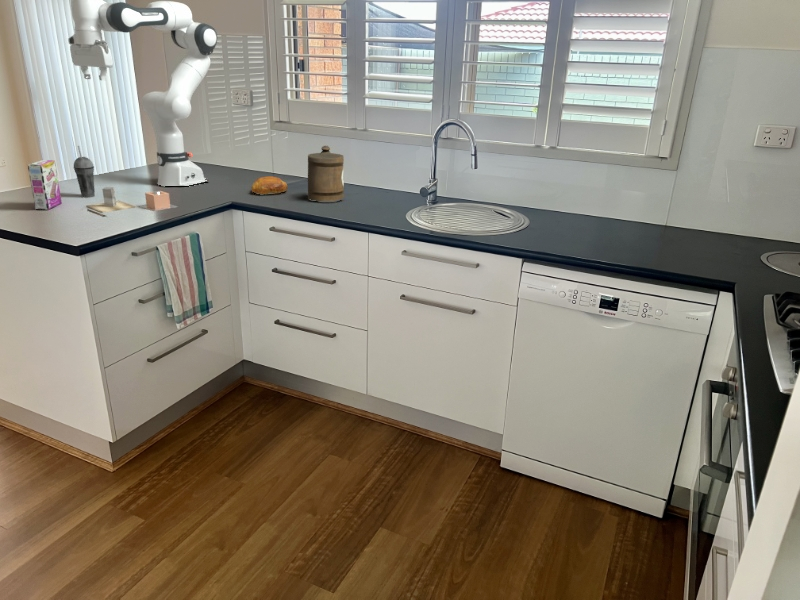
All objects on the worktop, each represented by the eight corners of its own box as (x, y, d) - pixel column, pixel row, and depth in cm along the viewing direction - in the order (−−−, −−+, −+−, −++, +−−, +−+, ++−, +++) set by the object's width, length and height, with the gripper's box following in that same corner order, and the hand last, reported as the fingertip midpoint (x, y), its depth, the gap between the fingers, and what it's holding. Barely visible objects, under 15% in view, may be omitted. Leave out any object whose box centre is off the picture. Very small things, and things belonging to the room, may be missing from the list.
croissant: (290, 199, 256) (292, 181, 254) (253, 197, 249) (255, 178, 246) (280, 192, 268) (282, 174, 265) (246, 189, 261) (247, 171, 258)
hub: (119, 205, 226) (116, 183, 223) (135, 211, 219) (132, 188, 216) (87, 210, 217) (83, 187, 214) (103, 216, 211) (99, 193, 207)
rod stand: (164, 205, 228) (162, 187, 226) (178, 210, 223) (176, 192, 220) (139, 210, 221) (136, 191, 219) (153, 215, 215) (151, 195, 213)
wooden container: (350, 200, 250) (351, 146, 242) (323, 204, 240) (323, 149, 232) (327, 194, 260) (327, 142, 251) (300, 198, 249) (299, 144, 241)
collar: (161, 203, 225) (160, 190, 223) (170, 206, 222) (168, 193, 220) (146, 206, 221) (145, 192, 219) (155, 209, 217) (153, 195, 216)
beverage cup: (102, 194, 242) (94, 144, 234) (91, 198, 235) (83, 147, 228) (85, 193, 242) (77, 143, 235) (74, 197, 236) (65, 146, 228)
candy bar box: (49, 210, 216) (41, 164, 210) (35, 210, 216) (26, 164, 210) (63, 203, 226) (55, 159, 220) (49, 203, 226) (41, 159, 220)
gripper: (114, 40, 217) (119, 81, 222) (81, 39, 227) (87, 78, 232) (98, 40, 212) (104, 81, 217) (65, 39, 222) (71, 78, 227)
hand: (95, 79), depth 225 cm, fingers open, 8 cm apart
